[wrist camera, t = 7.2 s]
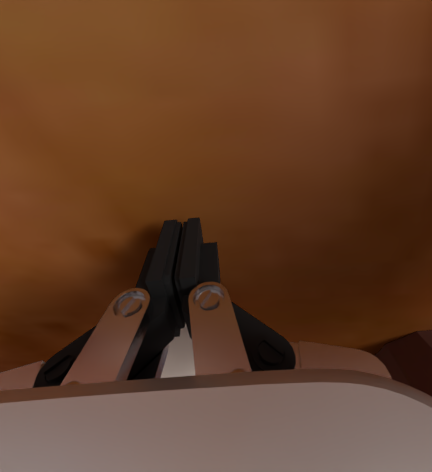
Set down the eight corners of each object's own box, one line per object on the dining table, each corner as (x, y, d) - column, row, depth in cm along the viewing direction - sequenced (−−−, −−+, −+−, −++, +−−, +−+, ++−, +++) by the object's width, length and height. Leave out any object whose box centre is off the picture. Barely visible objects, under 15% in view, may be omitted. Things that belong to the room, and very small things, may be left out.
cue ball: (108, 400, 11) (155, 334, 17) (216, 428, 10) (227, 349, 16) (111, 299, 10) (160, 264, 16) (230, 321, 9) (237, 277, 15)
